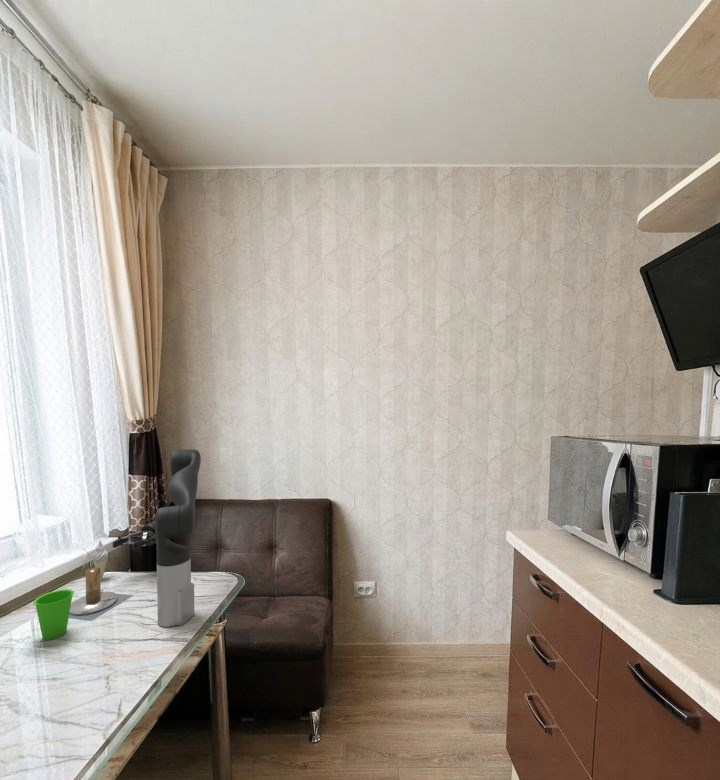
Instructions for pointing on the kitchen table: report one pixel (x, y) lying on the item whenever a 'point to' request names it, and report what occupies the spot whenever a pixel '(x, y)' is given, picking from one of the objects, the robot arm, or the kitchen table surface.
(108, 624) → the kitchen table surface
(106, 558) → the ice cream cone
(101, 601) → the lid
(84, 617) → the mat
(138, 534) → the robot arm
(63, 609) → the cup
